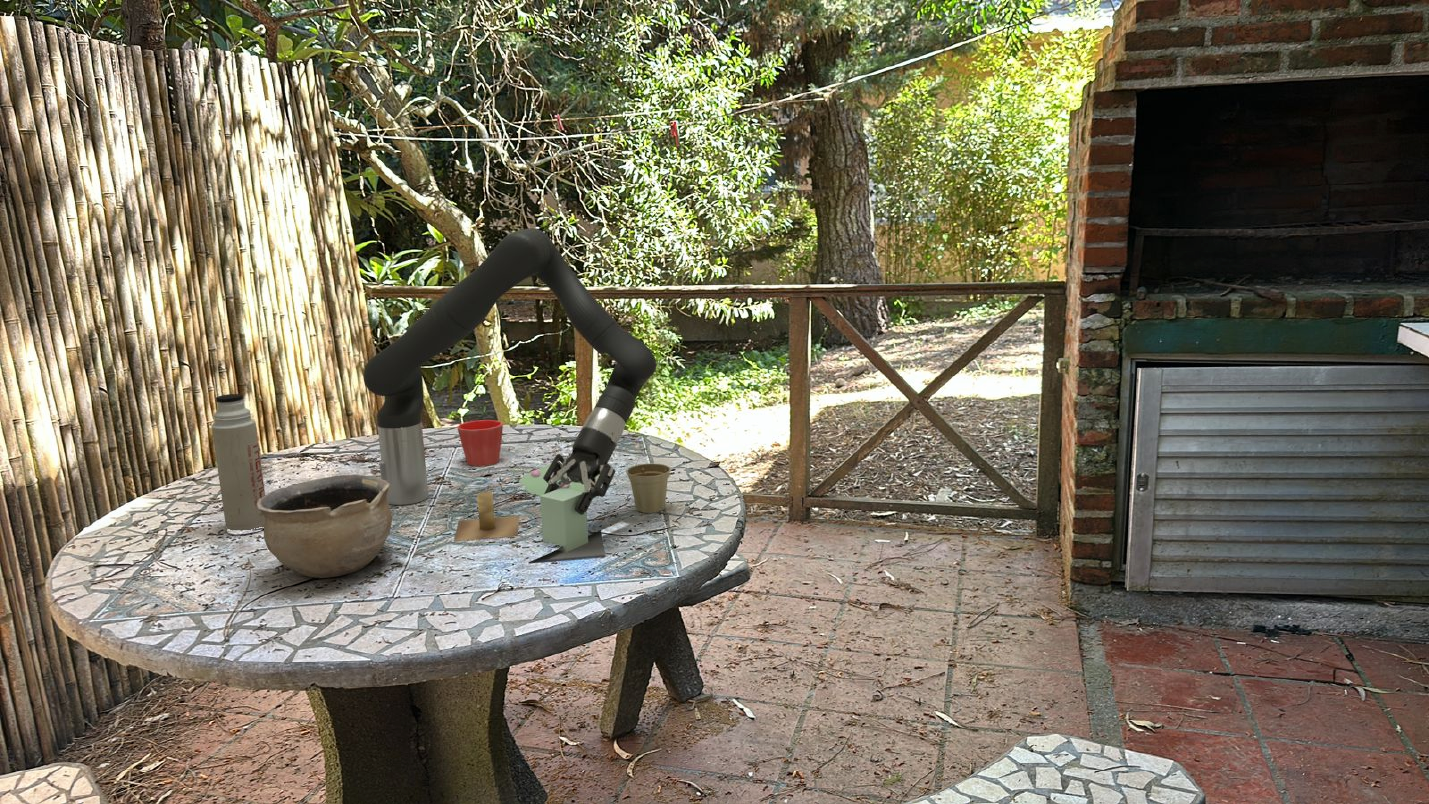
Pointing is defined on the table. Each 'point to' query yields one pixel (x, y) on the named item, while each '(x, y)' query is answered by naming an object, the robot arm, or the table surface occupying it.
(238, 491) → the thermos bottle
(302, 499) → the ceramic bowl
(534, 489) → the plant
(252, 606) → the table surface
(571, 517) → the sage green tall block
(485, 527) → the peg stand
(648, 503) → the flower pot
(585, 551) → the mat
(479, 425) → the flower pot
